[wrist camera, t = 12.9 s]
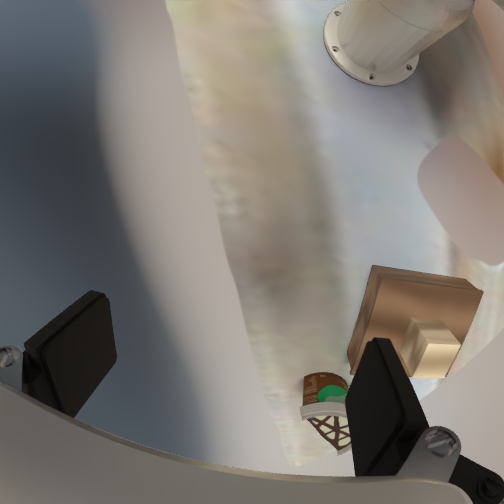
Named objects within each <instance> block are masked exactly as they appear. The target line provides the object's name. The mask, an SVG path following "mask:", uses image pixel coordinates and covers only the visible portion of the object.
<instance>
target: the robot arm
mask: <svg viewBox="0 0 504 504" xmlns="http://www.w3.org/2000/svg"><path fill="white" fill-rule="evenodd" d="M474 1H475V0H347V2H345V3H343V4H341V5H339V6H337V7H336V8H335V9H333V10H332V12H331V13H330V14H329V15H328V17H327V19H326V22H325V25H324V33H323V36H324V42H325V45H326V48H327V51H328V53H329V54H330V56H331V58H332V59H333V60H334V61H335V63H336V64H337V65H338V66H339V67H340V68H341V69H342V70H343V71H345V72H346V73H347V74H349V75H350V76H352V77H353V78H355V79H357V80H360V81H362V82H364V83H368V84H371V85H378V86H388V85H393V84H397V83H400V82H401V81H403V80H405V79H406V78H408V77H409V76H410V75H411V74H412V73H413V72H414V71H415V69H416V67H417V65H418V61H419V53H421V52H422V51H423V50H425V49H426V48H428V47H429V46H430V45H432V44H433V43H434V42H436V41H437V40H439V39H440V38H441V37H443V36H444V35H446V34H447V33H449V32H450V31H451V30H453V29H454V28H456V27H457V26H459V25H460V24H461V23H463V22H464V21H465V20H466V19H467V18H468V16H469V15H470V13H471V11H472V9H473V5H474ZM493 1H494V2H495V3H496V4H497V5H499V6H500V7H501V8H502V9H503V10H504V0H493ZM336 15H337V16H336ZM333 50H336V52H334V51H333ZM406 68H408V70H407V69H406ZM369 77H372V80H371V79H370V78H369ZM24 346H25V349H26V350H25V351H24V352H22V351H21V349H20V348H19V347H17V346H15V345H2V346H0V504H504V481H503V479H502V478H501V477H500V476H499V475H498V474H496V473H495V472H493V471H491V470H489V469H487V468H485V467H483V466H481V465H479V464H477V463H475V462H473V461H471V460H470V459H468V458H466V457H464V456H462V455H460V452H461V442H460V440H459V438H458V436H457V435H456V434H455V433H454V432H453V431H451V430H450V429H448V428H445V427H442V426H433V427H429V425H428V422H427V420H426V417H425V415H424V412H423V410H422V407H421V405H420V403H419V400H418V398H417V395H416V393H415V391H414V389H413V386H412V384H411V382H410V379H409V378H408V376H407V374H406V372H405V369H404V367H403V365H402V363H401V361H400V359H399V356H398V354H397V352H396V350H395V348H394V346H393V344H392V342H391V340H390V339H389V338H379V337H374V338H373V339H372V341H368V342H367V343H366V346H365V349H364V352H363V354H362V357H361V360H360V362H359V365H358V368H357V370H356V373H355V375H354V378H353V380H352V383H351V385H350V388H349V390H348V392H347V395H346V398H345V408H346V414H347V421H348V427H349V433H350V440H351V447H352V453H353V461H354V469H355V476H356V477H331V476H306V475H290V474H278V473H269V472H261V471H253V470H246V469H240V468H234V467H228V466H222V465H217V464H212V463H208V462H203V461H198V460H194V459H190V458H186V457H181V456H178V455H174V454H170V453H166V452H163V451H160V450H157V449H153V448H150V447H147V446H143V445H141V444H138V443H135V442H132V441H129V440H126V439H123V438H120V437H118V436H115V435H112V434H110V433H107V432H104V431H102V430H100V429H97V428H94V427H92V426H90V425H88V424H85V423H83V422H81V421H78V420H76V419H74V417H75V416H76V414H77V413H78V412H79V410H80V409H81V408H82V406H83V405H84V404H85V402H86V401H87V400H88V398H89V397H90V396H91V394H92V393H93V392H94V390H95V389H96V388H97V386H98V385H99V383H100V382H101V381H102V380H103V378H104V377H105V376H106V374H107V373H108V372H109V371H110V369H111V368H112V367H113V365H114V364H115V362H116V358H117V353H116V347H115V341H114V334H113V327H112V319H111V310H110V302H109V299H108V298H106V295H105V294H104V293H101V292H97V291H93V290H90V291H89V292H87V293H86V294H85V295H83V296H82V297H81V298H79V299H78V300H77V301H75V302H74V303H73V304H72V305H70V306H69V307H68V308H67V309H65V310H64V311H63V312H61V313H60V314H59V315H58V316H56V317H55V318H54V319H53V320H51V321H50V322H49V323H48V324H47V325H45V326H44V327H43V328H42V329H40V330H39V331H38V332H37V333H36V334H34V335H33V336H32V337H31V338H30V339H28V340H27V341H26V342H25V343H24Z"/></svg>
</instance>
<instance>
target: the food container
mask: <svg viewBox="0 0 504 504" xmlns="http://www.w3.org/2000/svg"><path fill="white" fill-rule="evenodd" d="M348 390H349V389H348V386H347V383H346V381H345V380H344V379H343V378H342V377H340V376H338V375H336V374H333V373H327V372H321V373H314V374H310V375H307V376H305V377H304V390H303V406H302V407H300V412H301V416H302V420H305V419H307V420H308V421H309V422H310V423H311V424H312V425H313V426H314V427H315V428H316V430H317V431H318V432H319V433H320V435H321V436H322V437H323V438H324V439H326V440H327V441H328V442H330V443H331V444H332V445H333V446H334V447H335V448H336V449H337V454H338V455H341V454H343V453H345V452H347V451H348V450H350V449H351V448H352V447H351V440H350V433H349V427H348V421H347V414H346V408H345V398H346V395H347V392H348Z"/></svg>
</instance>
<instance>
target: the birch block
mask: <svg viewBox="0 0 504 504" xmlns="http://www.w3.org/2000/svg"><path fill="white" fill-rule="evenodd" d="M460 346H461V344H460V343H459V342H458V340H457V339H456V338H455V336H454V335H453V334H452V333H451V331H450V330H449V329H448V327H447V326H446V325H445V324H444V322H443V321H442V320H432V319H422V318H411V320H410V323H409V325H408V328H407V331H406V333H405V336H404V338H403V341H402V343H401V345H400V348H399V352H400V354H401V356H402V358H403V360H404V362H405V364H406V366H407V368H408V371H409V373H410V375H411V377H412V378H444V377H445V375H446V373H447V372H448V370H449V368H450V366H451V364H452V362H453V360H454V358H455V356H456V354H457V352H458V350H459V348H460Z"/></svg>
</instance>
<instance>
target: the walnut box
mask: <svg viewBox="0 0 504 504" xmlns="http://www.w3.org/2000/svg"><path fill="white" fill-rule="evenodd" d="M482 295H483V291H482V290H478V289H477V288H476V287H474V286H473V285H472V284H471V283H470V282H468V281H467V280H466V279H462V278H456V277H449V276H442V275H436V274H429V273H422V272H416V271H409V270H402V269H396V268H389V267H382V266H375V265H372V269H371V273H370V277H369V281H368V284H367V288H366V292H365V295H364V299H363V303H362V306H361V310H360V313H359V316H358V320H357V323H356V326H355V329H354V333H353V336H352V339H351V342H350V345H349V348H348V351H347V355H348V359H349V363H350V367H351V371H350V375H355V373H356V370H357V368H358V365H359V362H360V360H361V357H362V354H363V352H364V349H365V346H366V343H367V342H368V341H372V339H373V338H374V337H379V338H389V339H390V340H391V342H392V344H393V346H394V348H395V350H396V352H397V354H398V356H399V359H400V361H401V363H402V365H403V367H404V369H405V372H406V374H407V376H408V377H411V375H410V373H409V371H408V368H407V366H406V364H405V362H404V360H403V358H402V356H401V354H400V352H399V348H400V345H401V343H402V341H403V338H404V336H405V333H406V331H407V328H408V325H409V323H410V320H411V318H422V319H432V320H442V321H443V322H444V324H445V325H446V326H447V327H448V329H449V330H450V331H451V333H452V334H453V335H454V336H455V338H456V339H457V340H458V342H459V343H460V344H461V346H462V344H463V342H464V340H465V337H466V335H467V333H468V331H469V328H470V326H471V323H472V321H473V319H474V316H475V314H476V311H477V308H478V306H479V303H480V301H481V298H482ZM461 346H460V348H461ZM460 348H459V350H460ZM459 350H458V352H459ZM458 352H457V354H456V356H455V358H454V360H453V362H452V364H451V366H450V368H451V367H452V365H453V363H454V361H455V359H456V357H457V355H458ZM450 368H449V370H450ZM449 370H448V372H449ZM448 372H447V373H446V375H445V377H446V376H447V374H448Z"/></svg>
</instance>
